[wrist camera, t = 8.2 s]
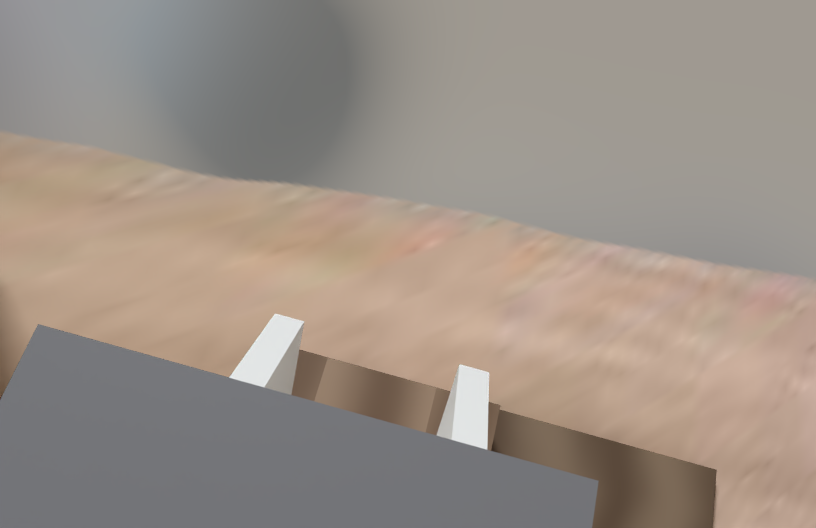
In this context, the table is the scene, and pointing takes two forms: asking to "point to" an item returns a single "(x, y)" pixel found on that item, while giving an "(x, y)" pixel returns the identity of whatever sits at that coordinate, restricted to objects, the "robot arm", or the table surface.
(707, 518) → the wooden socket base
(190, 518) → the post
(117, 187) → the table surface
